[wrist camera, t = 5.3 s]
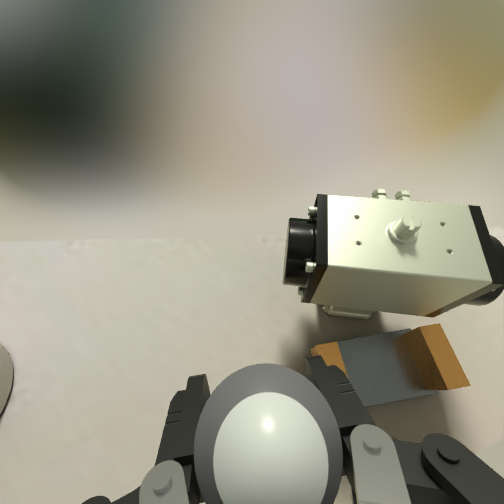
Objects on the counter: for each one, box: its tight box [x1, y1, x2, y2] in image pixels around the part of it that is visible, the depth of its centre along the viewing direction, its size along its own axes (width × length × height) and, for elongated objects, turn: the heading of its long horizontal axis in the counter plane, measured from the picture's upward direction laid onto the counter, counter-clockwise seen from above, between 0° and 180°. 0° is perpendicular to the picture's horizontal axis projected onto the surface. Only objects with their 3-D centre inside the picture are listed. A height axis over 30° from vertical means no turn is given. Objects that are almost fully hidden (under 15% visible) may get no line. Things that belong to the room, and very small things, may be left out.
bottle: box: [194, 364, 343, 504], centre depth 11 cm, size 5×5×10 cm
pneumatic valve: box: [283, 189, 504, 319], centre depth 18 cm, size 6×12×12 cm, turn 82°
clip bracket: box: [311, 323, 471, 407], centre depth 19 cm, size 9×5×4 cm, turn 99°
